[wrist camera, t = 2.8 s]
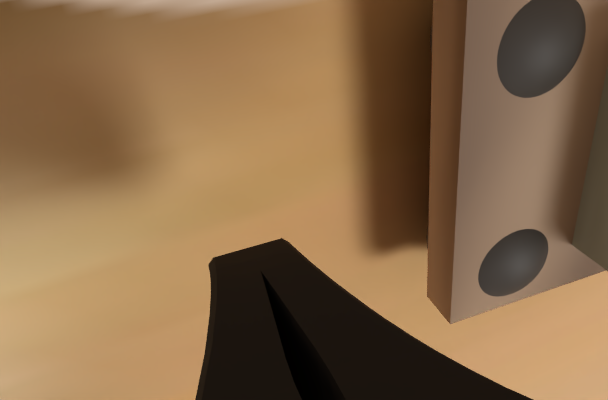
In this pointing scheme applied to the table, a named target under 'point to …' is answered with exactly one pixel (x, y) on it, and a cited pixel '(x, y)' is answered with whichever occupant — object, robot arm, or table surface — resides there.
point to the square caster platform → (516, 150)
